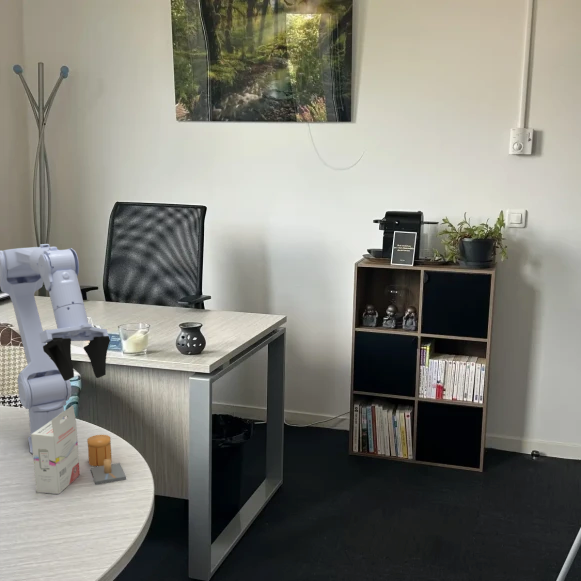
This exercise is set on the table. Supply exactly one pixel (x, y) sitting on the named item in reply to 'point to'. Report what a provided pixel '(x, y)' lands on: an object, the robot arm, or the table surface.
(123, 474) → the plate
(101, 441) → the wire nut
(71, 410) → the ink cartridge box
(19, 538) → the table surface
